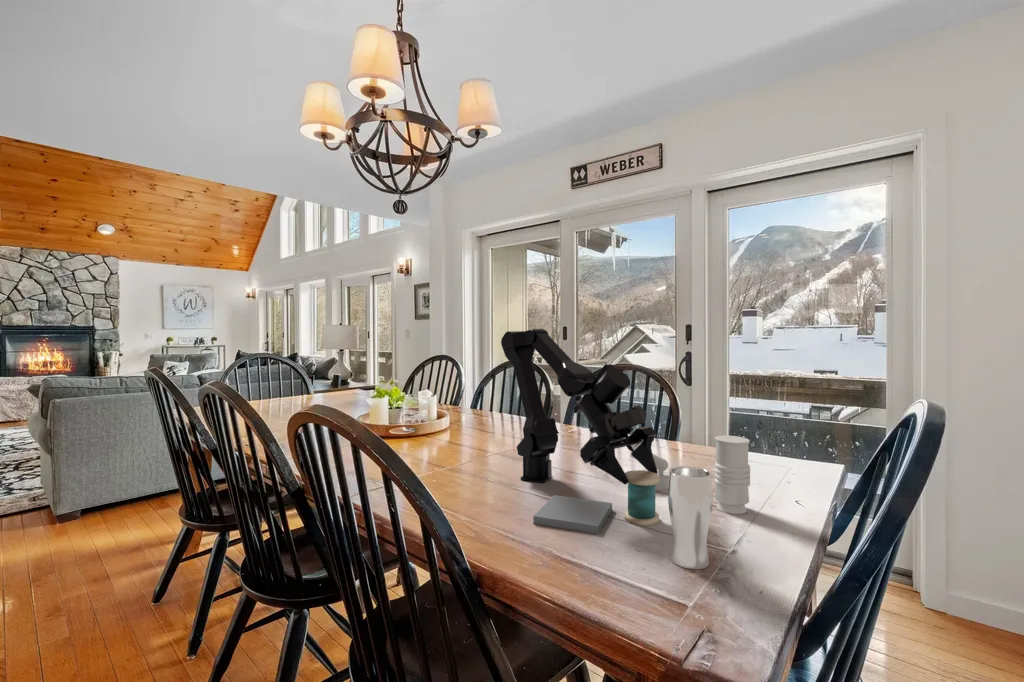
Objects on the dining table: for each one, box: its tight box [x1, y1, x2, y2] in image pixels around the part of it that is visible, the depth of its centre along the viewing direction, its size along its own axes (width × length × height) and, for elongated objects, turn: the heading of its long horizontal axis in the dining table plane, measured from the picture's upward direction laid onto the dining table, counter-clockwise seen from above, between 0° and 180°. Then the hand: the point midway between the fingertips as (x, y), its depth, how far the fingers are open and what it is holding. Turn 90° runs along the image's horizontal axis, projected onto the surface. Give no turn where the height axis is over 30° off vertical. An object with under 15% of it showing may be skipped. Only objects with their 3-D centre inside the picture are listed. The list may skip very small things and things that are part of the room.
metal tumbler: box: [667, 465, 714, 570], centre depth 81 cm, size 7×7×15 cm
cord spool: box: [623, 469, 660, 527], centre depth 99 cm, size 7×7×9 cm
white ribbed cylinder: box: [713, 435, 751, 515], centre depth 104 cm, size 7×7×15 cm
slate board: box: [532, 494, 613, 535], centre depth 101 cm, size 13×13×2 cm
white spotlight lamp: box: [630, 451, 670, 491], centre depth 121 cm, size 9×10×10 cm
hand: (641, 478), depth 99 cm, fingers open, 9 cm apart
